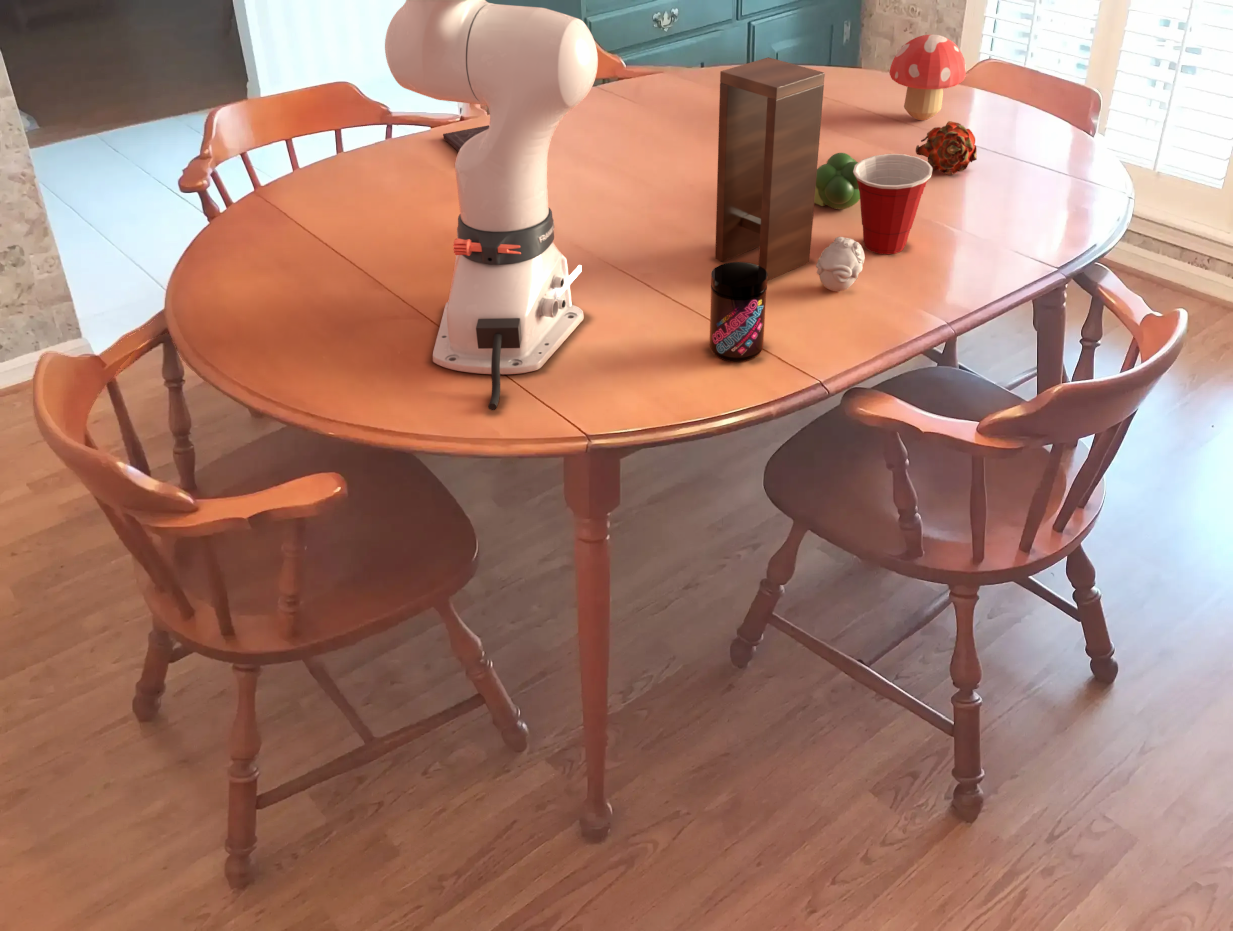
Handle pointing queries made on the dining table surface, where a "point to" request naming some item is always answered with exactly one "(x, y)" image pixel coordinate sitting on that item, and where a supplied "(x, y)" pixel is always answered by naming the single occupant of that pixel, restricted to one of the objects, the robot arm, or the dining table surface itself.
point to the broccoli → (837, 182)
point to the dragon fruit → (949, 148)
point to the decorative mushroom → (927, 73)
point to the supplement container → (737, 311)
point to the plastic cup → (890, 198)
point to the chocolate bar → (462, 136)
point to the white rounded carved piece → (840, 264)
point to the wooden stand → (768, 162)
